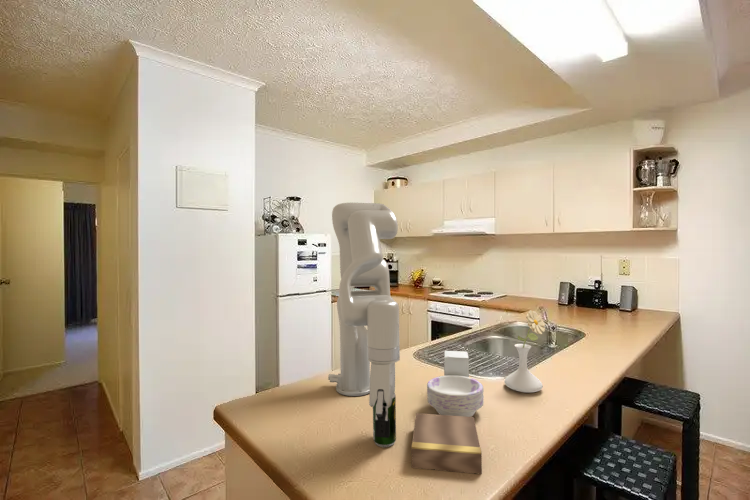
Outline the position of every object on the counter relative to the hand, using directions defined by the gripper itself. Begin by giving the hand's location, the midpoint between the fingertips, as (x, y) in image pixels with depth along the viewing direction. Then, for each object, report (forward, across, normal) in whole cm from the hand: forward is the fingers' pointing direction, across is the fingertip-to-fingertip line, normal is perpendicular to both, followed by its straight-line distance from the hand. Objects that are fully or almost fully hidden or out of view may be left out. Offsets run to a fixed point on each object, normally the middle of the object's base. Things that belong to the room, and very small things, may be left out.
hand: (384, 429), depth 84 cm
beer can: (+3, 0, 0) cm, 3 cm away
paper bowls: (+3, -18, +17) cm, 25 cm away
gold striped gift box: (+3, +1, +14) cm, 14 cm away
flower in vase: (+3, -38, +40) cm, 55 cm away
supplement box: (+3, -30, +18) cm, 35 cm away
